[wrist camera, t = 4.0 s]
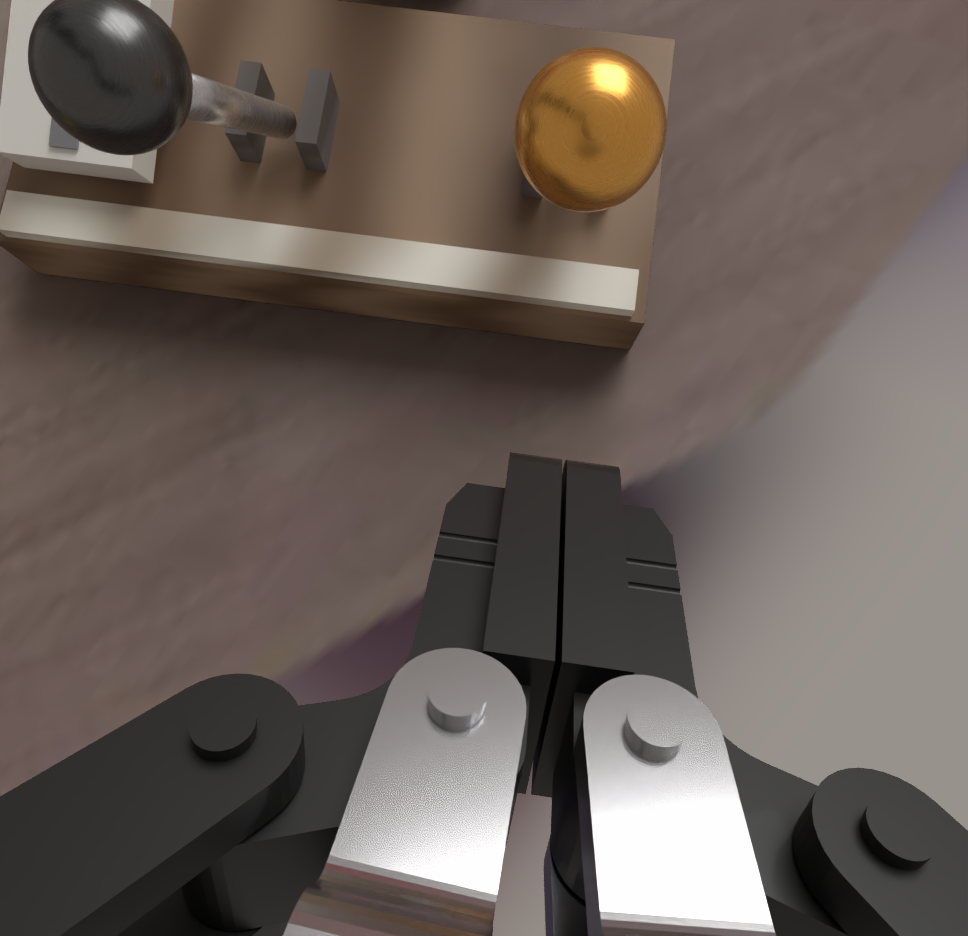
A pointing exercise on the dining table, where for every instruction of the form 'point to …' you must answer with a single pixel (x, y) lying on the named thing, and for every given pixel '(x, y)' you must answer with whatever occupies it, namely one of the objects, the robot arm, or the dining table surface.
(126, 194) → the panel
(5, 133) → the block
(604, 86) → the lever orange
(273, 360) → the dining table surface
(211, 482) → the dining table surface
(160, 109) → the lever black
